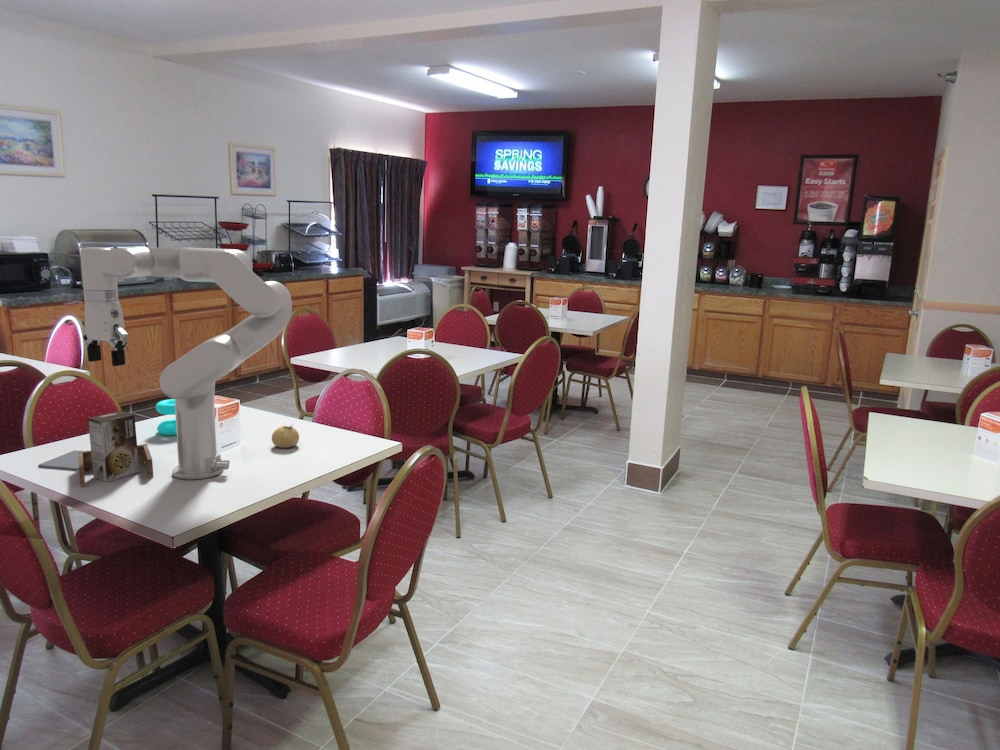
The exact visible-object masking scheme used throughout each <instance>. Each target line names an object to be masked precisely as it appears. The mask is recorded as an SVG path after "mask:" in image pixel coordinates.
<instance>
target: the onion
mask: <svg viewBox="0 0 1000 750" xmlns="http://www.w3.org/2000/svg"><path fill="white" fill-rule="evenodd" d="M293 426H294V424H291V425H286V424H285V425H281V426H279V427H278V428H276V429H275V430H274V431H273V432H272V435H271V442H272V443H273V445H274V446H275V445H276V446H275V447H277V446H278V447H277V448H279V447H290V448H292V447H291V446H293V447H294V446H296V445H297V444H299V441H300V434H299V432H298V431H297V429H296V428H294V427H293Z"/></svg>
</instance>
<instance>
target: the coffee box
mask: <svg viewBox="0 0 1000 750" xmlns="http://www.w3.org/2000/svg"><path fill="white" fill-rule="evenodd" d="M135 417H136V416H135V414H132V413H130V412H127V411H122V410H118V411H116V412H115V411H114V412H111V413H105V414H102V415H96V416H92V417H87V422H88V423H87V424H88V432H89V442H90V444H89V445H90V451H91V455H92V465H93V469H92V475H93V478H94V479H95V478H96V479H97V478H98V480H100V481H103V482H105V481H106V482H107V483H108V482H112V481H115V480H117V479H121V477H122V478H125V477H129V476H131V475H134V474H137V473H138V474H139V473H140V463H139V461H138V450H137V445H138V441H137V440H138V439H137V430H136V419H135Z"/></svg>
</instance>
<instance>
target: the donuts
mask: <svg viewBox="0 0 1000 750" xmlns="http://www.w3.org/2000/svg"><path fill="white" fill-rule="evenodd" d="M175 401H176V400H175V399H171V398H169V399H165V400H164V399H163V400H160V401H158V402H157V403H156V405H155V410H156V411H157V412H158V413H159V414H162V415H165V416H166V415H169V416H173V415H174V416H176V414H175ZM156 431H157V432H158V433H159V434H160V435H164V436H177V432H176V418H173V419H167V420H164V421H162V422H160V423H159V424H157V427H156Z"/></svg>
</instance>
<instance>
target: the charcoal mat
mask: <svg viewBox="0 0 1000 750" xmlns="http://www.w3.org/2000/svg"><path fill="white" fill-rule="evenodd" d="M82 451H83V450H76V449H75V450H72V451H69V452H67V453H65V454H62V455H59V456H57V457H54V458H52V459H49V460H47V461H44V462H42V463H39V464H38V467H39V468H44V467H49V468H48V469H55V468H59V469H58V470H66V469H69V471H77V470H79V460H78V452H82Z"/></svg>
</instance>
